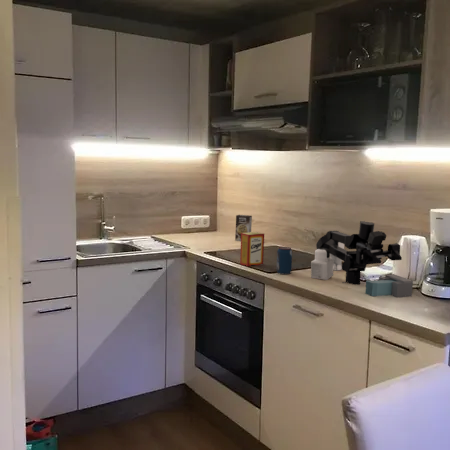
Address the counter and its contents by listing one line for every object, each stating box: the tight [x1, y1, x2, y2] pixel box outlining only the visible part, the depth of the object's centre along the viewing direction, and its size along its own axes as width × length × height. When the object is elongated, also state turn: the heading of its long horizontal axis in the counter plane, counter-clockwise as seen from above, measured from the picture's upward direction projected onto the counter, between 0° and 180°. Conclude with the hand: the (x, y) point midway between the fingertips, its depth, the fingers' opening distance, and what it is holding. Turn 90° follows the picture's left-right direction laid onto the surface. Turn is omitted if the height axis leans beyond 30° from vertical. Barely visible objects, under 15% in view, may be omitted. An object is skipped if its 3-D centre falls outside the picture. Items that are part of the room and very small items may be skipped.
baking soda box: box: [239, 231, 265, 267], centre depth 271 cm, size 10×6×16 cm
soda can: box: [275, 246, 293, 275], centre depth 253 cm, size 7×7×12 cm
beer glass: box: [330, 242, 345, 272], centre depth 265 cm, size 7×7×15 cm
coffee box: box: [234, 214, 253, 242], centre depth 345 cm, size 9×6×16 cm
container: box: [310, 248, 334, 281], centre depth 245 cm, size 8×8×13 cm
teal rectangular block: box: [364, 279, 396, 297], centre depth 216 cm, size 5×14×5 cm, turn 110°
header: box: [378, 273, 414, 298], centre depth 217 cm, size 12×7×7 cm, turn 20°
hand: (391, 260), depth 208 cm, fingers open, 9 cm apart
